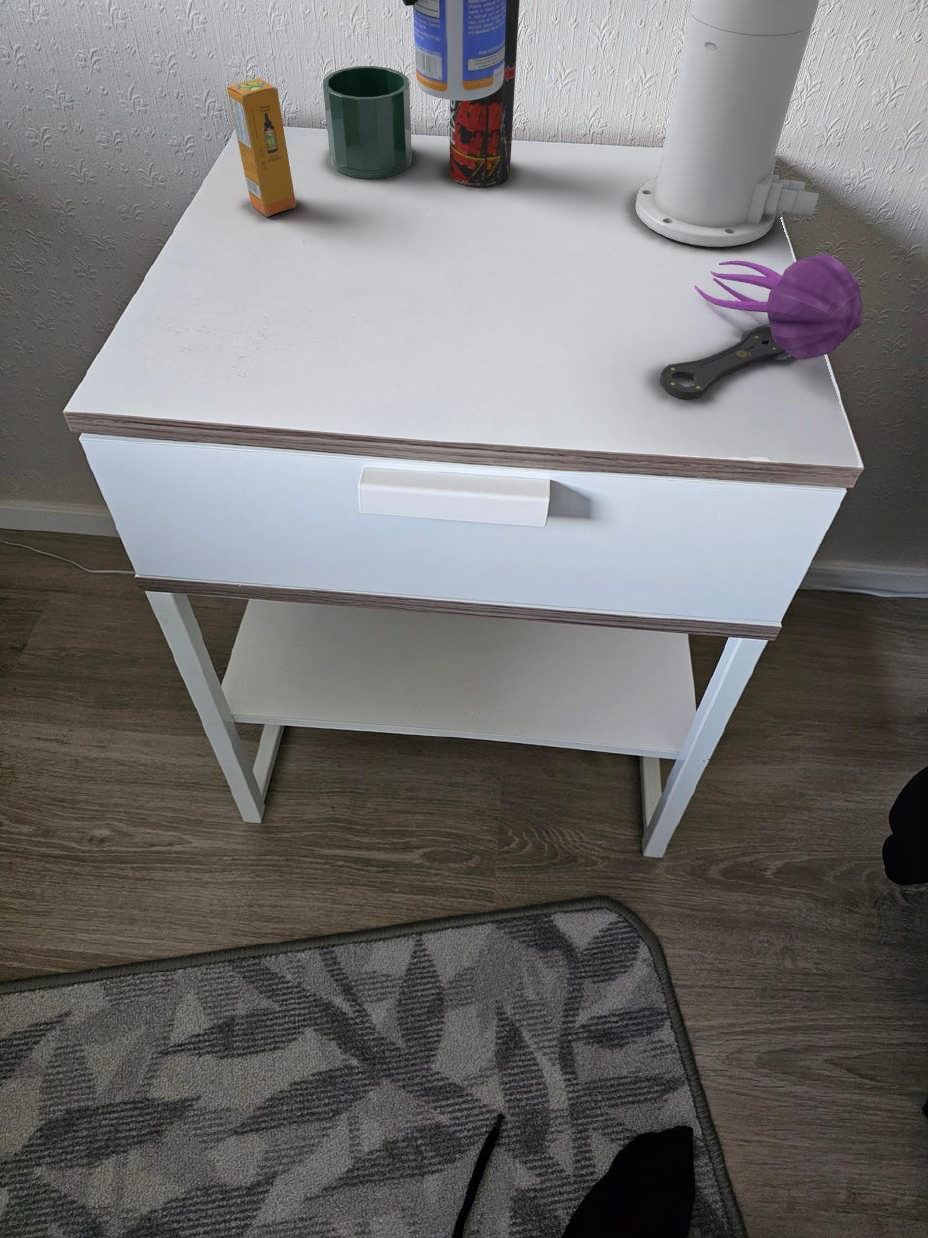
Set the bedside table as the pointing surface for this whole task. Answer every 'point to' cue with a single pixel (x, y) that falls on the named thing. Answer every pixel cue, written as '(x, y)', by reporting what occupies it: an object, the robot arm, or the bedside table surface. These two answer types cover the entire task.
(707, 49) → the robot arm
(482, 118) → the deodorant
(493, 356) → the bedside table surface
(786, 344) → the jellyfish
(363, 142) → the cup
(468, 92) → the pill bottle
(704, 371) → the hex hole wrench
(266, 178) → the supplement box
